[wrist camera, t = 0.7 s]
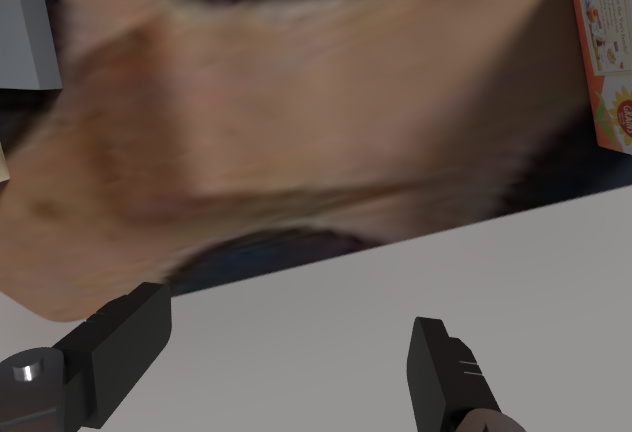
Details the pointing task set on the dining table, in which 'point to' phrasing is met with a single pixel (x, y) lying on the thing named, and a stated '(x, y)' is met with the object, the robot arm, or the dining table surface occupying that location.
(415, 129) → the dining table surface
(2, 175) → the peg
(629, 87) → the cracker box
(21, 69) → the dock plate
